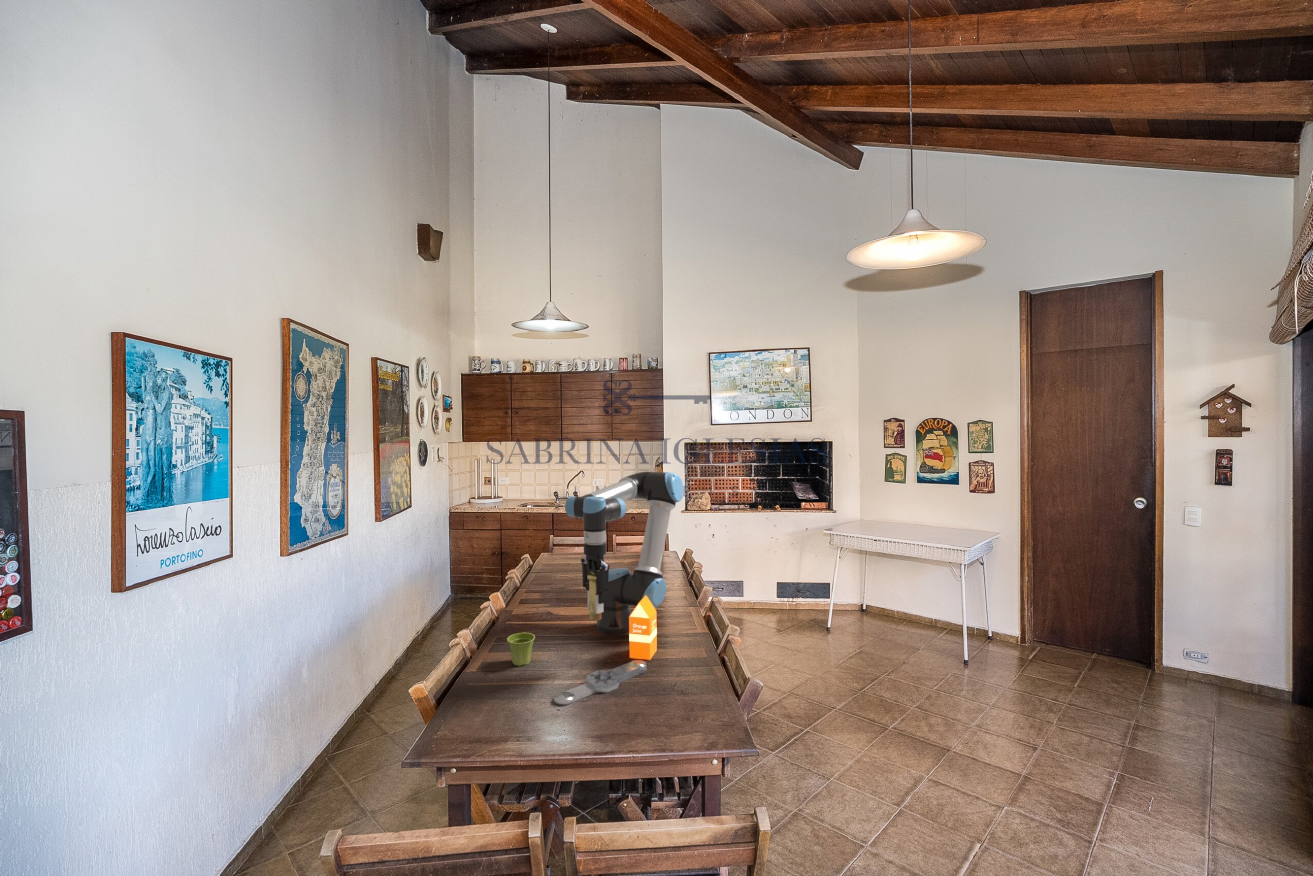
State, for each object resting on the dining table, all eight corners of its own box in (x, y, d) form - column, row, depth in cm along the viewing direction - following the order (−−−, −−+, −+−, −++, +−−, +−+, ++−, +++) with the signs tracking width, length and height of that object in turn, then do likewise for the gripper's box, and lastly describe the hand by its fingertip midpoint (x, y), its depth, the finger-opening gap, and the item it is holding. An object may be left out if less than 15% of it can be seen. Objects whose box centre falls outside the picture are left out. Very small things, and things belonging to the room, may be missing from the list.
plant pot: (540, 658, 207) (540, 634, 206) (526, 669, 198) (525, 644, 197) (517, 655, 210) (516, 631, 209) (502, 666, 201) (501, 641, 200)
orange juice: (657, 650, 213) (656, 595, 212) (650, 660, 205) (649, 603, 204) (636, 648, 215) (635, 594, 214) (629, 657, 207) (628, 601, 206)
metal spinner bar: (565, 710, 171) (565, 702, 171) (546, 698, 178) (546, 690, 178) (654, 672, 194) (654, 665, 194) (634, 663, 202) (634, 656, 202)
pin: (584, 618, 200) (584, 574, 200) (597, 614, 204) (596, 571, 203) (593, 622, 196) (593, 577, 196) (606, 618, 200) (605, 574, 199)
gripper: (571, 540, 203) (572, 607, 204) (600, 548, 190) (601, 619, 191) (589, 537, 208) (589, 602, 209) (619, 545, 195) (619, 614, 196)
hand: (595, 610), depth 200 cm, fingers closed on pin, 4 cm apart
